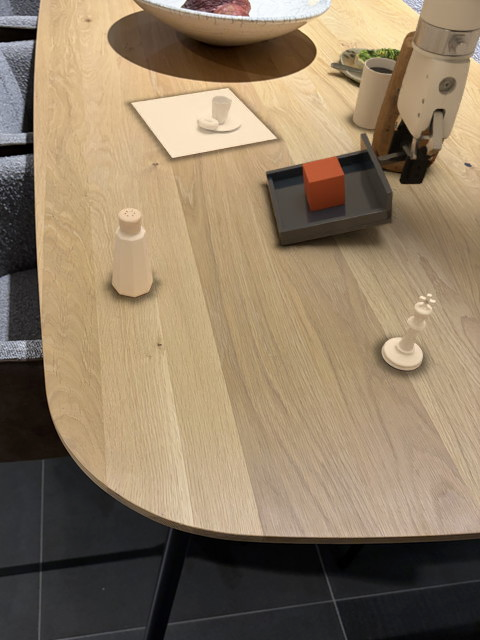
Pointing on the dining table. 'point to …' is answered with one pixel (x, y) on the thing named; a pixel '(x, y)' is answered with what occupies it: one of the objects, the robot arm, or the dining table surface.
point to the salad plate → (361, 60)
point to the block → (394, 108)
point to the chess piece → (409, 339)
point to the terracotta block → (324, 183)
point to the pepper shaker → (131, 256)
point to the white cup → (372, 91)
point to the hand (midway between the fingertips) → (404, 168)
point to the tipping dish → (357, 213)
